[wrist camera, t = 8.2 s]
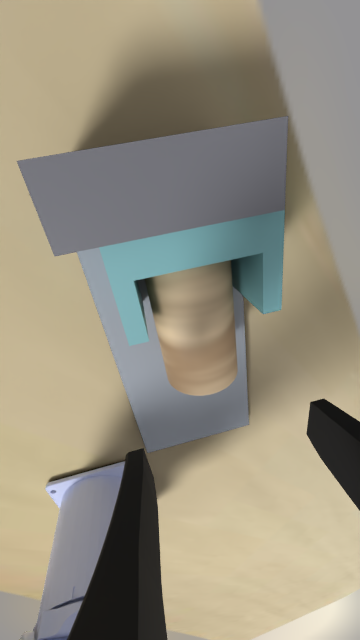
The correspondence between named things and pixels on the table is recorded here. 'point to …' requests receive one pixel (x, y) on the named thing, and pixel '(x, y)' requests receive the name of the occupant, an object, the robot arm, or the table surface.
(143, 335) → the teal arch
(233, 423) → the board
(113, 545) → the robot arm
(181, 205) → the backstop wall
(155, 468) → the table surface
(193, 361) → the dowel
